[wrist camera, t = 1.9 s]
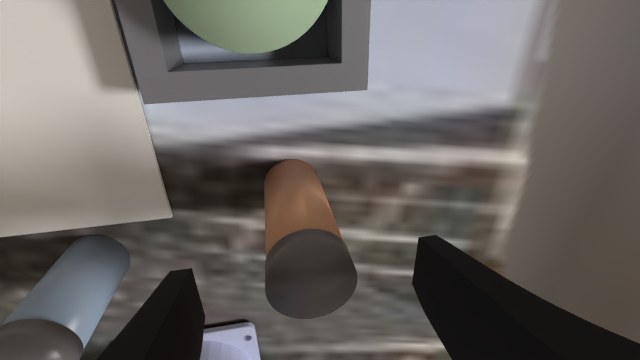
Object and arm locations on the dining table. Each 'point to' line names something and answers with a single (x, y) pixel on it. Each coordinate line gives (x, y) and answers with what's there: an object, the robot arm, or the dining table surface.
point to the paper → (71, 122)
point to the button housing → (246, 76)
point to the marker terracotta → (303, 245)
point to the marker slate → (65, 302)
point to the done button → (248, 21)
